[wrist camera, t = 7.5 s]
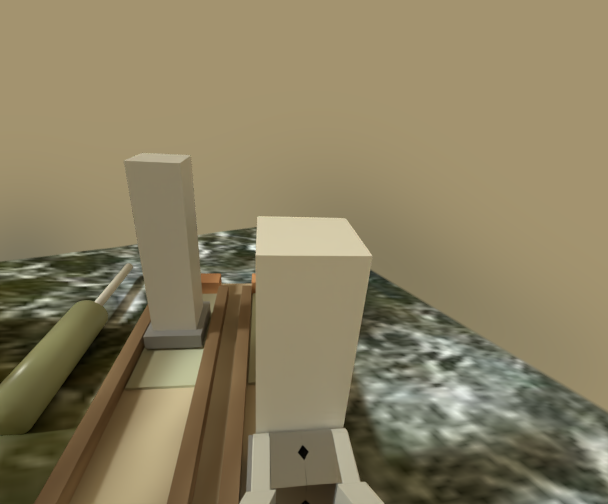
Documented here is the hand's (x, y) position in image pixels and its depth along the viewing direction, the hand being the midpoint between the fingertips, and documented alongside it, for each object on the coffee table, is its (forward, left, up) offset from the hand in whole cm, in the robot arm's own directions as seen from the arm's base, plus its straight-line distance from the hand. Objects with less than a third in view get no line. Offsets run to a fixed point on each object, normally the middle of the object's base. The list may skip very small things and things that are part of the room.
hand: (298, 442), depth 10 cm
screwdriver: (-14, +15, -7) cm, 22 cm away
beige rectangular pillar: (0, +1, -5) cm, 5 cm away
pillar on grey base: (-7, +13, -5) cm, 15 cm away
